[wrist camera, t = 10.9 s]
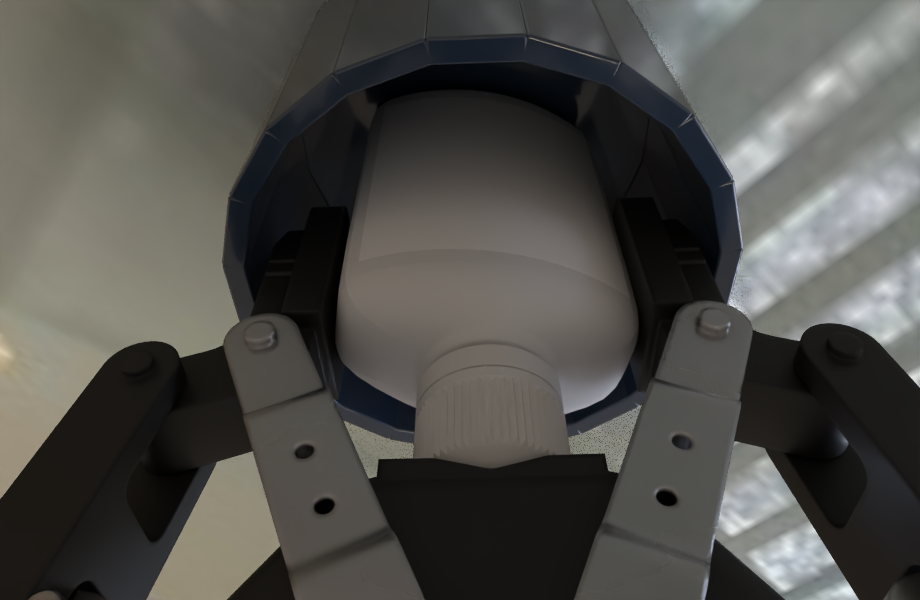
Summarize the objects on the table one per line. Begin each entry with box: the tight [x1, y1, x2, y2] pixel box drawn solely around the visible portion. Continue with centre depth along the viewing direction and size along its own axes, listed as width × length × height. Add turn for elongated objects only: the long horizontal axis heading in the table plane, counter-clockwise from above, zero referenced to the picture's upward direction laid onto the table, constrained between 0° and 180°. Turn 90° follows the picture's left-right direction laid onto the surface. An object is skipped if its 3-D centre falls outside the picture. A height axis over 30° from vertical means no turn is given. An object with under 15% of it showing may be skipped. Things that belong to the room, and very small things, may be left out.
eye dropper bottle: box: [335, 89, 639, 468], centre depth 14 cm, size 4×6×12 cm
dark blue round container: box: [222, 0, 743, 444], centre depth 17 cm, size 10×10×7 cm
